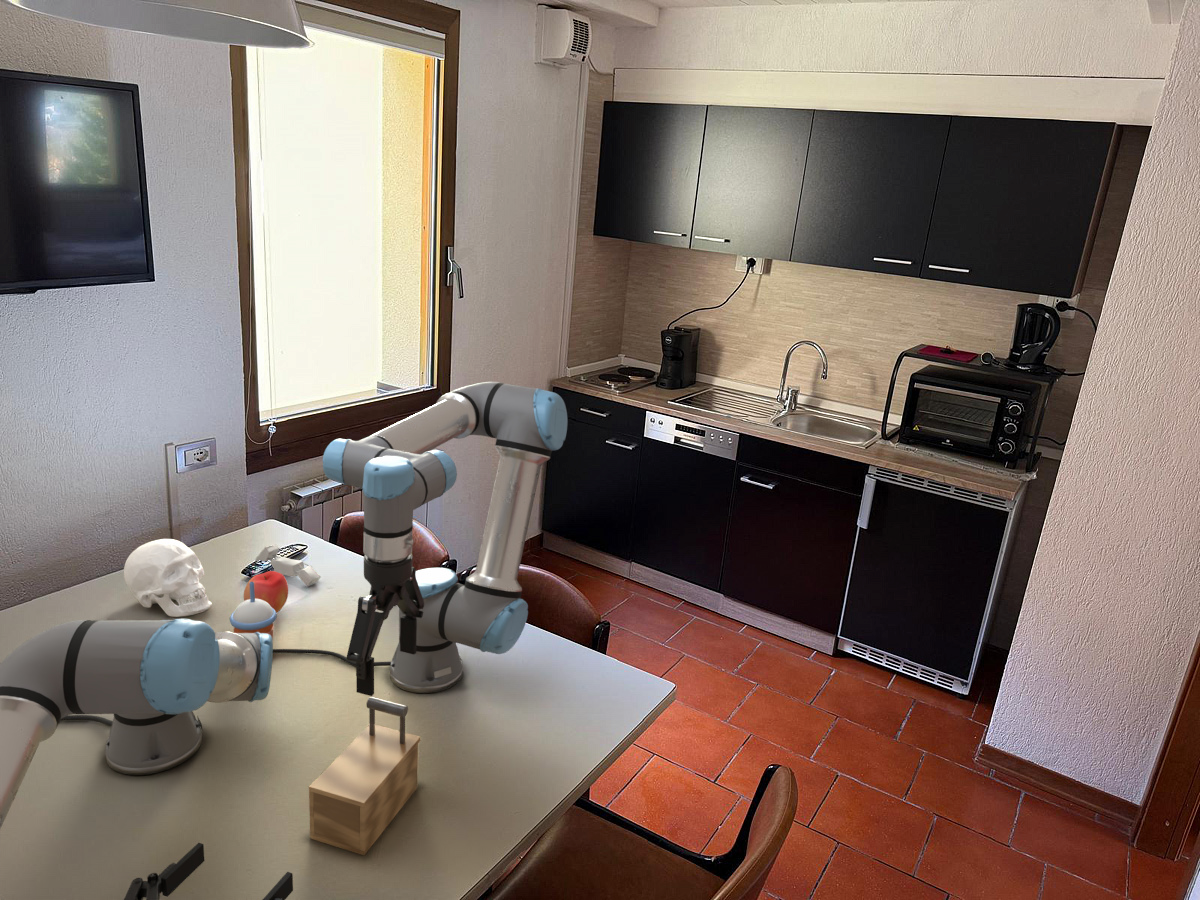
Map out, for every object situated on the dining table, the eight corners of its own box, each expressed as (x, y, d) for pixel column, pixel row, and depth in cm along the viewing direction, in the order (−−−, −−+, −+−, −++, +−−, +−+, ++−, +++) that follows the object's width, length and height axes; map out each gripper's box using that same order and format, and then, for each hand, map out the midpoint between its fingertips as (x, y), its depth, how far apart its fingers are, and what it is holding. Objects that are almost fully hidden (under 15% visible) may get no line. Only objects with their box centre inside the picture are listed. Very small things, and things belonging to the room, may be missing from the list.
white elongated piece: (253, 565, 223) (254, 542, 221) (265, 560, 226) (266, 537, 224) (309, 593, 215) (310, 569, 213) (320, 588, 218) (321, 564, 216)
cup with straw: (262, 673, 177) (258, 595, 172) (223, 666, 179) (218, 588, 174) (286, 652, 186) (283, 577, 181) (248, 645, 187) (244, 570, 182)
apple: (273, 600, 207) (272, 562, 204) (297, 613, 202) (296, 575, 199) (237, 614, 200) (234, 575, 197) (261, 628, 194) (259, 588, 191)
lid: (370, 727, 149) (370, 687, 147) (420, 740, 147) (421, 700, 144) (308, 791, 133) (307, 747, 130) (364, 807, 130) (363, 763, 128)
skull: (190, 626, 193) (187, 561, 188) (111, 606, 198) (107, 543, 194) (231, 603, 205) (229, 541, 201) (156, 585, 211) (152, 525, 206)
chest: (367, 773, 151) (367, 729, 148) (417, 787, 149) (418, 743, 146) (310, 838, 136) (308, 791, 133) (364, 855, 133) (364, 807, 130)
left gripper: (24, 995, 96) (168, 862, 115) (210, 1071, 89) (329, 917, 109) (16, 942, 93) (164, 816, 113) (206, 1016, 87) (328, 869, 107)
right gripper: (366, 591, 123) (366, 718, 129) (445, 530, 146) (443, 641, 152) (320, 581, 125) (323, 706, 131) (406, 523, 147) (405, 632, 154)
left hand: (245, 865), depth 111 cm, fingers open, 13 cm apart
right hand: (387, 671), depth 141 cm, fingers open, 13 cm apart
